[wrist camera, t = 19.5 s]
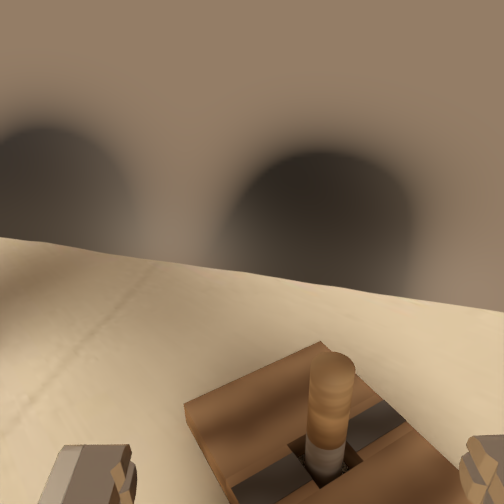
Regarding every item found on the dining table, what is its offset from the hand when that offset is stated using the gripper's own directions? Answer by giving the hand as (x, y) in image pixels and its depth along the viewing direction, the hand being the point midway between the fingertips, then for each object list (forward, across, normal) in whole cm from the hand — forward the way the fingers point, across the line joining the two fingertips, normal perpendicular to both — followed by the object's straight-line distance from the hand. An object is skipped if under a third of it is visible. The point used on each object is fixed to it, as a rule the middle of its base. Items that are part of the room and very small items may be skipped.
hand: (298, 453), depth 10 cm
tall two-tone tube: (+18, -5, +30) cm, 35 cm away
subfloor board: (+18, -5, +30) cm, 35 cm away
